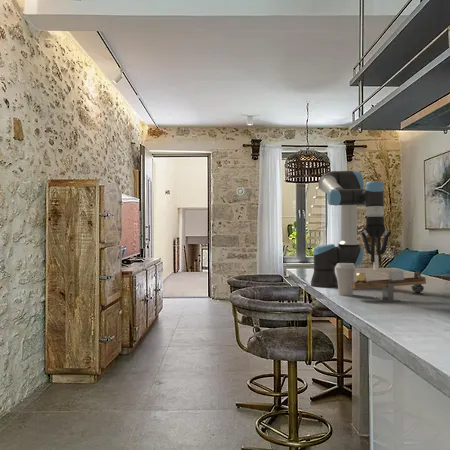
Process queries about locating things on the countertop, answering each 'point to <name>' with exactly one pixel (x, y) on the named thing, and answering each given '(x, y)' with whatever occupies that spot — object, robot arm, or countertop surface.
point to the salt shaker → (418, 287)
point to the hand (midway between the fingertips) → (375, 269)
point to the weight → (361, 277)
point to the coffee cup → (345, 278)
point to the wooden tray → (385, 282)
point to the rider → (396, 275)
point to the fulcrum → (388, 294)
